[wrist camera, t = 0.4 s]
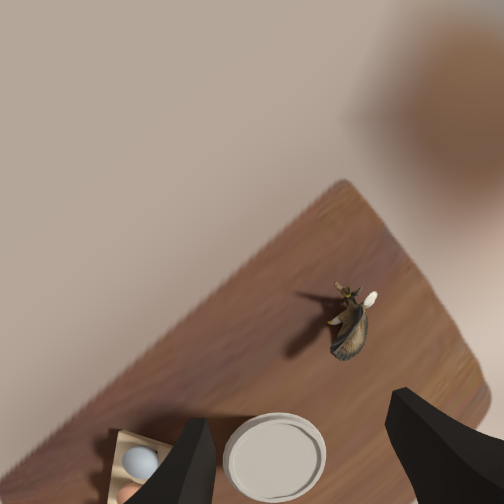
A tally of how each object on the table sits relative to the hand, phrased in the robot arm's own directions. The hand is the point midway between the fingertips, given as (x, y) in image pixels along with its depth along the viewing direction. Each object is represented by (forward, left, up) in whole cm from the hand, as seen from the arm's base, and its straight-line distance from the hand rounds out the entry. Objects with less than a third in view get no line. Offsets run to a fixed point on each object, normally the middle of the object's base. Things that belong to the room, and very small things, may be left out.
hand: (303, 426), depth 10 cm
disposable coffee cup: (-6, -3, -27) cm, 27 cm away
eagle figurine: (+11, -11, -27) cm, 31 cm away
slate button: (-11, +10, -25) cm, 29 cm away
